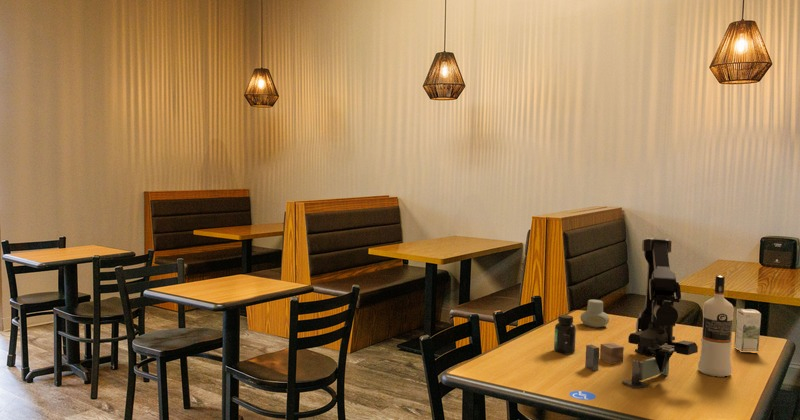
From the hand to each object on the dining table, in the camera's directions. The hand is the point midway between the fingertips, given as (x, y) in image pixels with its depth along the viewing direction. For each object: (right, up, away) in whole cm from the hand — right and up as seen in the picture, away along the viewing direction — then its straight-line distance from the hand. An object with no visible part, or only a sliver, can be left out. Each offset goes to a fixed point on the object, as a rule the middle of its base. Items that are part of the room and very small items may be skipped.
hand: (661, 372), depth 183 cm
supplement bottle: (-21, -1, +28) cm, 35 cm away
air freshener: (+1, +1, +65) cm, 65 cm away
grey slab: (-2, -2, +2) cm, 4 cm away
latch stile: (-17, -2, +10) cm, 20 cm away
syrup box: (+43, -2, +34) cm, 55 cm away
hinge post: (-9, -3, -4) cm, 10 cm away
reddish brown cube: (-8, -1, +19) cm, 21 cm away
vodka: (+20, -3, +9) cm, 22 cm away
